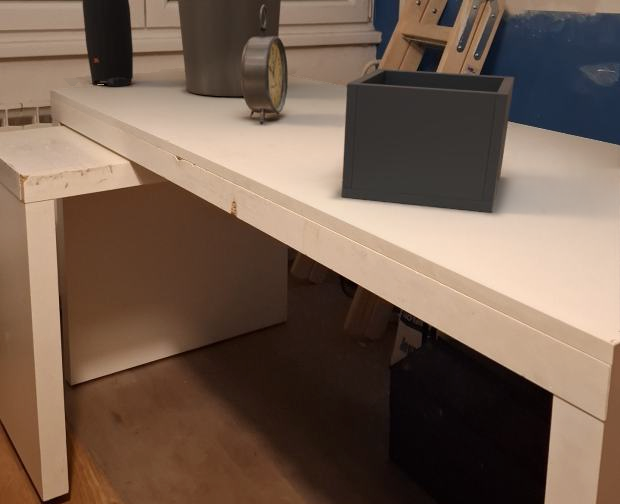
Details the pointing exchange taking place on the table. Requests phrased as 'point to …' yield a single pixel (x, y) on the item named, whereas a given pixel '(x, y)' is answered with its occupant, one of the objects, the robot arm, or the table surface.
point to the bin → (426, 138)
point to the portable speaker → (109, 41)
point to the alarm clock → (264, 73)
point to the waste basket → (221, 40)
